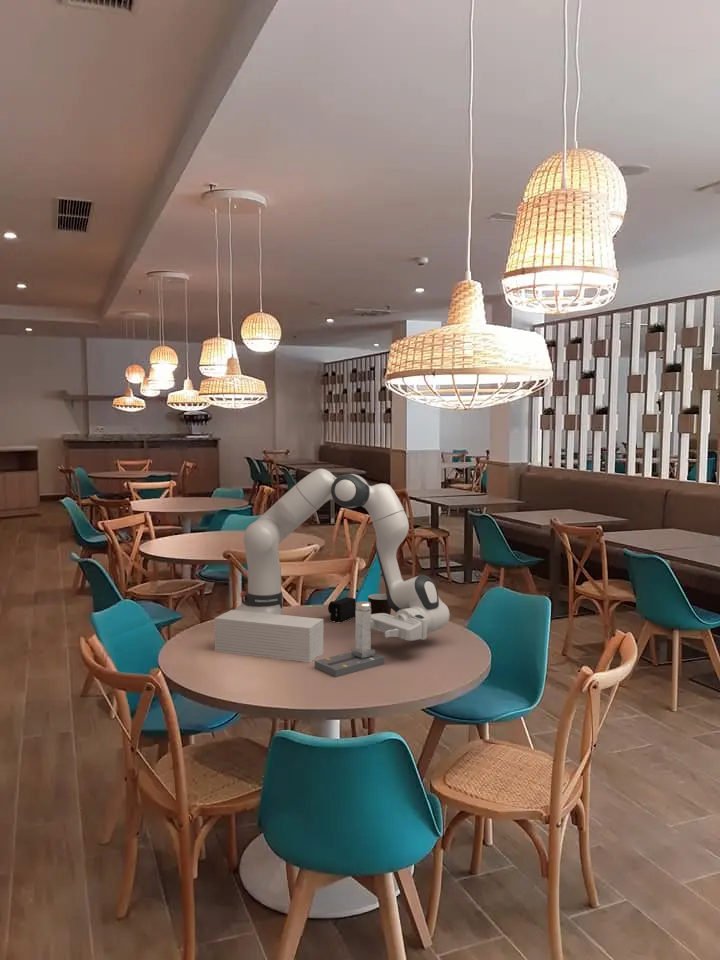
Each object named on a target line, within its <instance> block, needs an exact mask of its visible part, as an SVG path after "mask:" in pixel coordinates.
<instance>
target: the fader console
mask: <svg viewBox="0 0 720 960" xmlns="http://www.w3.org/2000/svg"><path fill="white" fill-rule="evenodd" d="M381 664H382V665H385V656H382V655H379V654H377V653H375V655H374V656H370V657H366V658H359V657H357V656H354V655H351V651H349V652H346V653H342V654H338V655H334V656H329V657H326V658H322V659H317V660H314V668H315V669H316V668H317V670H319V671H321V670H322V671H321V672H323V671H324V672H323V673H325V672H326V673H325V674H328V675H330V676H332V675H333V677H335V678H337V677H341V676H346V675H349V674H352V673H356V672H359V671H363V670H367V669H370V668H374V667H378V665H379V666H381Z"/></svg>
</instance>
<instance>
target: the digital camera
mask: <svg viewBox="0 0 720 960" xmlns="http://www.w3.org/2000/svg"><path fill="white" fill-rule="evenodd" d="M356 602H357V598H354V597H349V596H348V597H343V598H340V599H337V600H335V601H333V600H331V601H330V602H329V604H328V605H327V606H328V607H327V612H328V613H329V614H330V622H331V621H335V622H334V623H336V622H342V623H344V622H343V621H345V620H347V621H349V620H351V619H350V618H352V619H354V618H356ZM353 617H354V618H353ZM348 619H349V620H348ZM345 622H346V621H345Z"/></svg>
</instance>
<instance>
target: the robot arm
mask: <svg viewBox="0 0 720 960" xmlns="http://www.w3.org/2000/svg"><path fill="white" fill-rule="evenodd" d="M331 500H333V502H335V504H337V505H339V506H341V507H343V508H348V509H353V508H357V507H362V508H364V509H365V510H366V511H367V513H368V515H369V517H370V520H371V522H372V524H373V528H374V531H375V540H376V542H375V551H376V557H377V559H378V564H379V568H380V571H381V574H382V578H383V581H384V586H385V594H386V596H387V601H388V604H389V606H390V607H391V610H393V611H394V612H395V613H396V614H395V615H392V614H386V613H377V614H371V630H375V631H379V632H381V633H382V637H384V638H394V637H395V638H399V639H401V640H405V641H417V640H422V641H423V640H426V639H427V637H428V633H433V632H435V631H438V630H440V629H443V628H444V627H445V626H446V625H447V624H448V622H449V620H450V615H451V614H450V609H449V608H448V605H446V603H444V602H443V601H442V599H441V598H440V596H439V593H438V591H439V590H438V588H437V585H436V583H435V582H434V580H433V579H432V578H431V577H429V576H427V575H426V574H420V575H417V576H415V577H412V578H409V579H406V580H404V579H403V577H402V575H401V574H402V573H401V571H400V567H399V564H398V560H397V552H398V549H399V547H400V545H401V544H402V543H403V541H404V540H405V539H406V537H407V535H408V533H409V530H410V524H409V519H408V516H407V514H406V512H405V508H404V507H403V504H402V503H401V500H400V499H399V497H398V495H397V494H396V492H395V491H394V489H393V488H392V486H391V485H390V484H388V483H378V484H377V483H376V484H374V485H370V484H369V482H368V481H367V480H366V479H365V478H364V477H362V476H360V475H359V474H355V473H345V474H341V475H339V476H337V477H336V476H335V475H334V474H333V473H332V472H330V471H329V470H328V469H325V468H318V469H317V468H316V469H315V470H314V471H312V472H310V473H309V474H308V475H306V476H305V477H303V478H302V479H301V480H299V481H298V482H297V483H296V484H295V485H294V486H292V487H291V488H290V489H289V490H288V491H287V492H285V493H284V495H283V496H281V497H280V498H279V499H278V500H277V501H275V503H274V504H273V505H272V506H270V508H268V509H267V510H266V512H264V513H263V514H261V516H259V517H258V518H257V519H256V520H255V521H253V522H252V523H250V524H249V525H248V526H247V527H246V528H245V530H244V534H243V544H244V551H245V560H246V565H247V591H244V590H243V591H241V592H240V594H239V595H240V598H241V604H240V605H238V606H237V607H236V608H235V609H234V610H239V611H249V612H259V613H269V614H278V615H283V605H284V604H283V603H284V595H283V591H282V567H281V563H280V561H281V560H280V554H279V545H280V543H282V541H284V540H285V539H286V538H287V537H288V536H289V535H291V534H292V533H293V532H294V531H295V530H297V528H298V527H300V526H301V525H302V524H303V523H305V521H307V520H308V519H309V518H310V517H311V516H312V515H313V514H314V513H316V512H317V511H319V509H320V508H321V507H322V506H324V505H325V504H326V503H328V502H329V501H331Z"/></svg>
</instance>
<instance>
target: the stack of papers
mask: <svg viewBox="0 0 720 960" xmlns="http://www.w3.org/2000/svg"><path fill="white" fill-rule="evenodd" d="M217 651H220V652H219V653H226V652H227V654H234V653H236V654H235V655H242V654H244V655H245V656H250V655H255V656H254V657H258V656H263V657H262V658H266V657H270V658H269V659H276V660H283V659H284V661H291V660H293V662H299V661H302V662H301V663H307V662H310V663H311V662H313V661H315V659H317V658H318V657H319V656H321V655H322V654H323V653H324V618H318V617H316V618H315V617H306V616H298V615H297V616H296V615H290V614H289V615H288V614H287V615H286V614H282V615H278V614H269V613H259V612H249V611H239V610H235V609H230V610H228V611H227V612H224V613H222V614H220V615H217V616H216V617H214V652H217ZM244 655H243V656H244ZM317 656H318V657H317ZM316 657H317V658H316ZM294 660H295V661H294ZM312 660H313V661H312Z"/></svg>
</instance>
